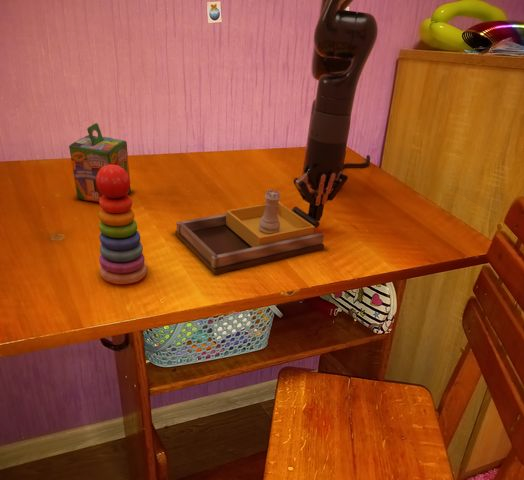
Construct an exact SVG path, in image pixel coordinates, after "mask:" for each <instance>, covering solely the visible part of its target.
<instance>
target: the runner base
mask: <svg viewBox="0 0 524 480" xmlns="http://www.w3.org/2000/svg"><path fill="white" fill-rule="evenodd" d="M175 236H176V237H177V238H178V239H179V240H180V241H181V242H182V243H183V244H184V245H185V246H186V247H187V248H188V249H189V250H190V251H191V252H192V253H193V254H194V255H195V256H196V257H197V258H198V259H199V260H200V262H202V263H203V264H204V265H205V266H206V267H207V268H208V269H209V270H210V271H211V272H212V273H213V274H214V275H220V274H224V273H228V272H233V271H236V270H240V269H245V268H250V267H255V266H259V265H262V264H266V263H271V262H276V261H279V260H284V259H288V258H292V257H296V256H301V255H305V254H309V253H314V252H317V251H318V252H319V251H322V250H324V248H325V244H324V237H325V234H324V233H322V232H319V233H314V234H313V235H308V236H304V237H299V238H295V239H290V240H285V241H281V242H276V243H271V244H267V245H262V246H257V247H251V246H250V245H249V244H248V243H247V242H246V241H244V240H243V239H242V238H241V237H240V236H239V235H237V234H236V233H235V232H234V231H233V230H231V229H230V228H229V227H228V226H227V225H226V213H223V214H215V215H210V216H204V217H200V218H194V219H188V220H187V219H186V220H182V221H176V229H175Z"/></svg>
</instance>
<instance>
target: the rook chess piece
mask: <svg viewBox="0 0 524 480" xmlns="http://www.w3.org/2000/svg"><path fill="white" fill-rule="evenodd" d="M263 197H264V198H265V202H264V204H265V205H266V206H265V212H264V215H263V217H262V219H261V220H260V222H259V224H260V225H259V229H260V231H261V232H263V233H266V234H275V233H277V232H278V231H279V230H280V227H279V226H280V222H279V219H278V216H277V207H278V206H279V204H278V202H280V200H281V199H282V196H281V194H280V191H279V190H277V189H274V191H273V189H271V188H270V189H267V190H266V193H265V194H264V196H263Z"/></svg>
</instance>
